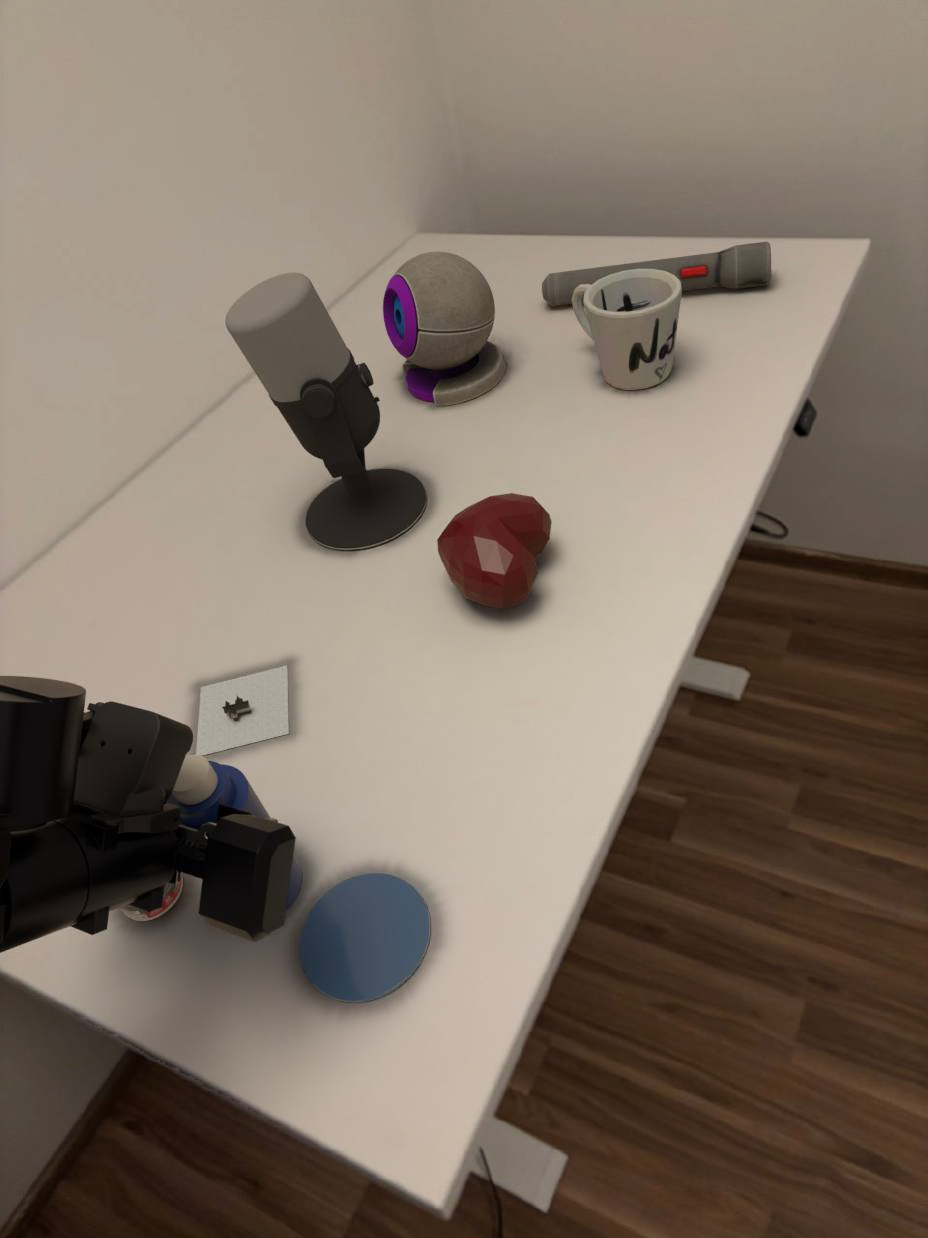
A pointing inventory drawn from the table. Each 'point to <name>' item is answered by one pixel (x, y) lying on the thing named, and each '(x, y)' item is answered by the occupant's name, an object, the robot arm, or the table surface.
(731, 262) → the flashlight
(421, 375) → the webcam
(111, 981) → the table surface
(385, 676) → the table surface
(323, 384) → the microphone
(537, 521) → the heart
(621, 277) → the mug
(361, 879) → the blue coaster
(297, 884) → the blue bottle
